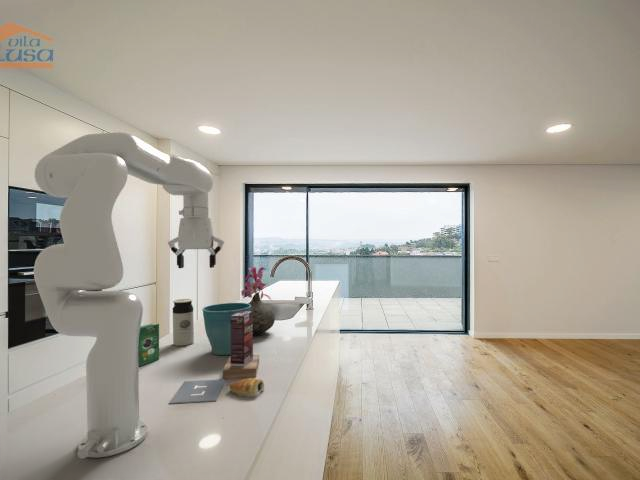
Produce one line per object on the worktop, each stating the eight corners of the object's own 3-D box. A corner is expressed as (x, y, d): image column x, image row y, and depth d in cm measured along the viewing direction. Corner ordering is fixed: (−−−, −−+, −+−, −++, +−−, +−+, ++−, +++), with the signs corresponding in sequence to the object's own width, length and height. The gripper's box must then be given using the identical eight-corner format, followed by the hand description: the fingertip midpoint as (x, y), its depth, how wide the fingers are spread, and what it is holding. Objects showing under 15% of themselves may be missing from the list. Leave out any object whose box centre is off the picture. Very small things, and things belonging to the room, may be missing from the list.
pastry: (224, 395, 96) (224, 381, 96) (236, 386, 102) (236, 372, 102) (256, 399, 93) (256, 384, 93) (266, 388, 100) (266, 375, 100)
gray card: (216, 401, 92) (216, 399, 92) (168, 403, 91) (168, 402, 91) (225, 380, 106) (225, 379, 106) (184, 382, 105) (184, 381, 105)
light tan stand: (256, 376, 108) (255, 368, 108) (222, 378, 107) (222, 370, 107) (259, 362, 121) (259, 354, 121) (229, 363, 120) (229, 356, 120)
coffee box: (154, 358, 127) (153, 322, 127) (160, 359, 126) (159, 322, 126) (134, 365, 120) (134, 327, 120) (140, 366, 119) (140, 328, 119)
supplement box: (244, 367, 110) (243, 316, 110) (230, 366, 110) (229, 316, 110) (254, 357, 118) (253, 310, 118) (240, 357, 119) (239, 310, 119)
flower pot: (193, 357, 128) (192, 310, 128) (218, 342, 145) (217, 301, 145) (238, 360, 124) (237, 312, 124) (259, 345, 141) (258, 303, 141)
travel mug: (174, 341, 148) (173, 299, 148) (194, 339, 151) (193, 297, 151) (172, 347, 141) (171, 302, 141) (193, 345, 143) (192, 300, 143)
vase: (230, 337, 153) (228, 268, 153) (249, 327, 170) (248, 265, 170) (265, 340, 149) (263, 269, 149) (281, 329, 165) (280, 265, 165)
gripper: (163, 213, 108) (164, 269, 108) (220, 212, 109) (221, 267, 108) (172, 215, 115) (173, 267, 115) (226, 214, 116) (226, 266, 116)
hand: (196, 267), depth 112 cm, fingers open, 9 cm apart
